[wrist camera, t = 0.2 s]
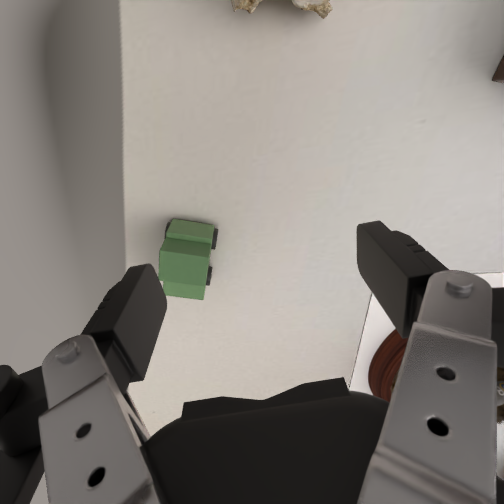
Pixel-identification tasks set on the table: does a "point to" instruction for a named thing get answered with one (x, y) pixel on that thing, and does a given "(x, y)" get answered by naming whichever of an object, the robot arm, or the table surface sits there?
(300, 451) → the robot arm
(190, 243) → the toy truck
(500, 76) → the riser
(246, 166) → the table surface
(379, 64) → the table surface
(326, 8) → the bone
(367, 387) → the airplane diorama
